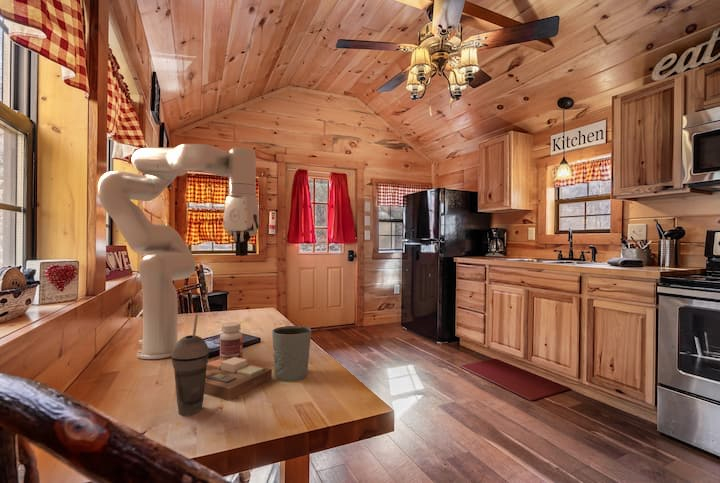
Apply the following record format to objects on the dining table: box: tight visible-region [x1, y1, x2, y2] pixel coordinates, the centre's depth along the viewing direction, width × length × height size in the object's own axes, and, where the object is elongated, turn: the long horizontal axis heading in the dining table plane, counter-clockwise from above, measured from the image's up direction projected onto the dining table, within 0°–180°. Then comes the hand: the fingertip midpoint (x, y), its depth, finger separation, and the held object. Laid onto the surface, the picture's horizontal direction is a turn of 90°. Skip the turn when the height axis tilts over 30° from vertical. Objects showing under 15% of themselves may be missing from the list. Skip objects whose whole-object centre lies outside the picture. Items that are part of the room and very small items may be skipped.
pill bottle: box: [219, 321, 243, 360], centre depth 107 cm, size 6×6×11 cm
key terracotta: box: [206, 358, 225, 370], centre depth 98 cm, size 4×4×2 cm
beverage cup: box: [170, 314, 210, 416], centre depth 78 cm, size 7×7×20 cm
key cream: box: [221, 357, 248, 373], centre depth 96 cm, size 4×4×2 cm
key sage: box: [237, 365, 264, 377], centre depth 93 cm, size 4×4×2 cm
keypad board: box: [204, 358, 273, 401], centre depth 93 cm, size 18×14×3 cm
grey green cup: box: [271, 325, 313, 382], centre depth 98 cm, size 10×10×12 cm
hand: (241, 255), depth 108 cm, fingers closed
